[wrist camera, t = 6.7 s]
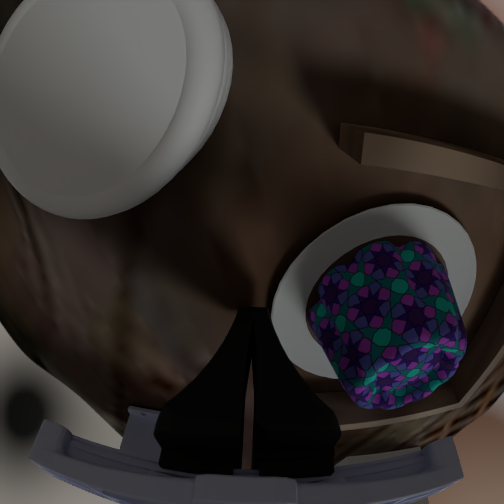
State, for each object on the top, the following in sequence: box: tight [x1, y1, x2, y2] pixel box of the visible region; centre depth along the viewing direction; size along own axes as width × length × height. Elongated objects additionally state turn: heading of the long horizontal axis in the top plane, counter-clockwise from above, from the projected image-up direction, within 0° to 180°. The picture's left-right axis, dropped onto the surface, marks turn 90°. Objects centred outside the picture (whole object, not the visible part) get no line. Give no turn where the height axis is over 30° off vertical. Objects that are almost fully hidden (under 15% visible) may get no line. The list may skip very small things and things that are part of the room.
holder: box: [315, 123, 504, 431], centre depth 13 cm, size 14×18×3 cm
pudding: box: [271, 203, 476, 410], centre depth 12 cm, size 12×12×5 cm
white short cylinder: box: [0, 0, 233, 219], centre depth 8 cm, size 10×10×4 cm
